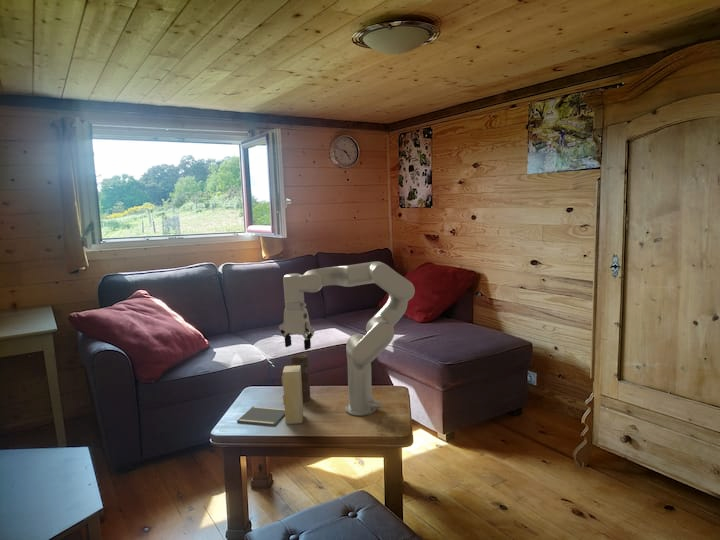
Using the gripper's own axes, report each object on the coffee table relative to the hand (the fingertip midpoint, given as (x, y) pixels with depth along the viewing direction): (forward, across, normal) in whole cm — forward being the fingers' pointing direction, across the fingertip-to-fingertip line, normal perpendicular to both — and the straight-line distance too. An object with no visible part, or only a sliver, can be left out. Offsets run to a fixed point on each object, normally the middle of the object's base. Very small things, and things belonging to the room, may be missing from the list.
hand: (298, 347), depth 195 cm
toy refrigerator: (+29, +1, +5) cm, 29 cm away
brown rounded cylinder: (+29, +11, -13) cm, 34 cm away
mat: (+28, +14, +8) cm, 32 cm away
